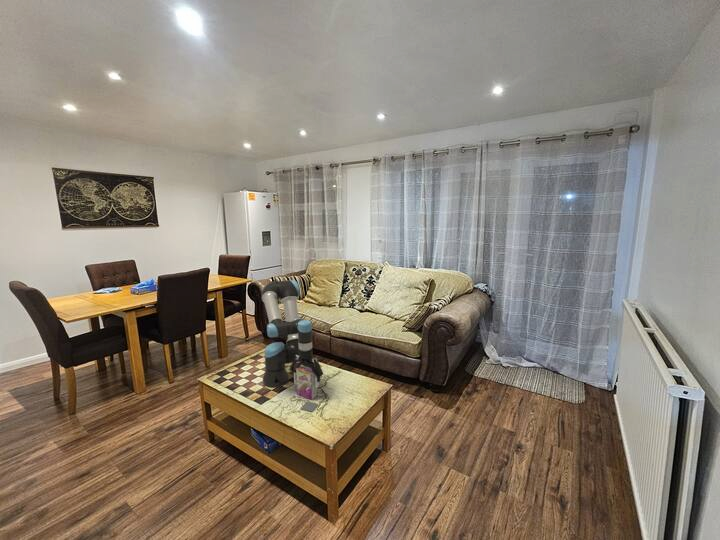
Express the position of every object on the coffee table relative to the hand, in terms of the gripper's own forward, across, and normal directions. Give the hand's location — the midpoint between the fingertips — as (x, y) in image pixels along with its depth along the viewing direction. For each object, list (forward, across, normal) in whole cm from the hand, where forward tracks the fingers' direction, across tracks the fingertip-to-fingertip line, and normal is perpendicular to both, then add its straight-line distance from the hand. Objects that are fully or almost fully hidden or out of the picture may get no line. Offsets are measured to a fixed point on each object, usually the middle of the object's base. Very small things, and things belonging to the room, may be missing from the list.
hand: (306, 384), depth 171 cm
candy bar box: (+7, 0, 0) cm, 7 cm away
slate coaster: (+7, +7, -9) cm, 13 cm away
